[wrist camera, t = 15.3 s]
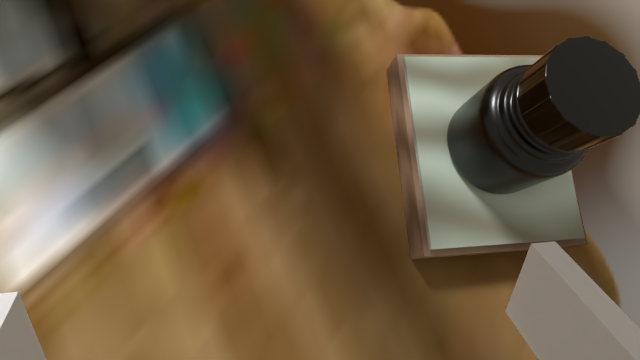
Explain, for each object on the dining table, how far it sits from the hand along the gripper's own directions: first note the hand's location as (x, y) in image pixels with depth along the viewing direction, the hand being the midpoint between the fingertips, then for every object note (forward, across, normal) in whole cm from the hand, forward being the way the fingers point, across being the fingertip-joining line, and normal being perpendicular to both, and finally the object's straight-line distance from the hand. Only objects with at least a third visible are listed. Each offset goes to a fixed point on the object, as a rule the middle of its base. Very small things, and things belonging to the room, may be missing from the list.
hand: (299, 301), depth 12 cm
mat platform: (+26, +21, -11) cm, 35 cm away
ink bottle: (+23, +21, -8) cm, 32 cm away
